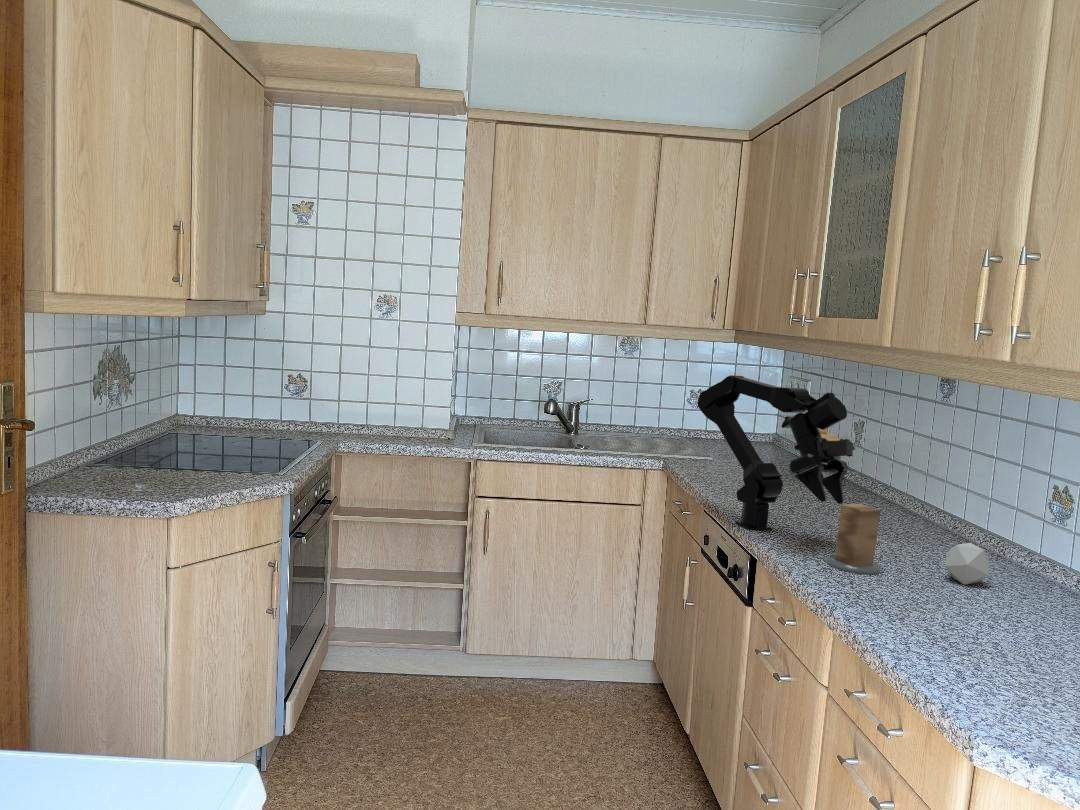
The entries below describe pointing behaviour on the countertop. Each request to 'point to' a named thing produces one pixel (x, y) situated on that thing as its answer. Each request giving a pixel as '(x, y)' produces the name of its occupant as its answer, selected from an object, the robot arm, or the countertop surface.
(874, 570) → the slate coaster
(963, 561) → the die
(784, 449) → the countertop surface
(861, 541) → the walnut block
